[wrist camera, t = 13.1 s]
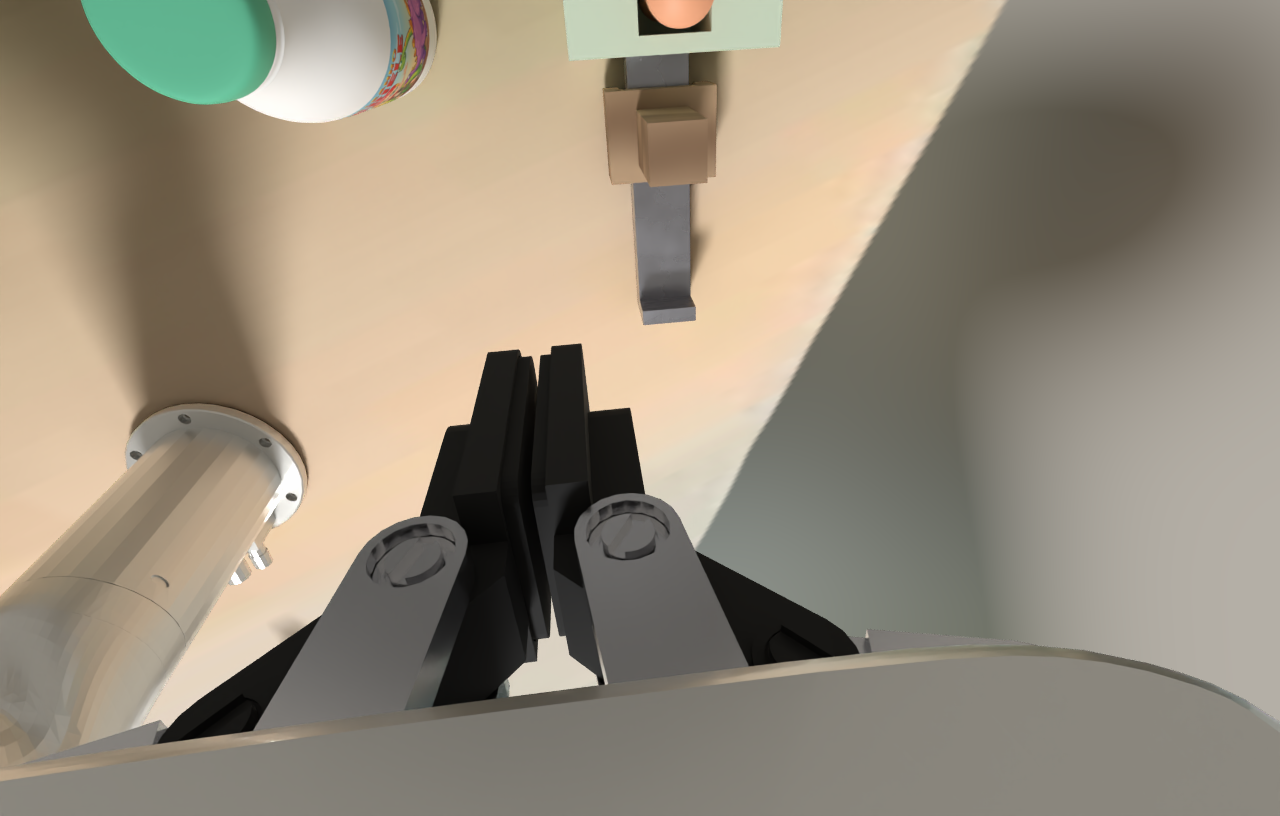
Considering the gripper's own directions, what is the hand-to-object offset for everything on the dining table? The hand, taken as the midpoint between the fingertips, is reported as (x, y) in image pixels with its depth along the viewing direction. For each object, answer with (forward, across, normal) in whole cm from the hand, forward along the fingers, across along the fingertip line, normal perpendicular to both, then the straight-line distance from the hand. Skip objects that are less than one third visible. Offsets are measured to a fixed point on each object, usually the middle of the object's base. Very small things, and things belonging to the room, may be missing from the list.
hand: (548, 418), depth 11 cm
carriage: (+32, -6, -1) cm, 32 cm away
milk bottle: (+32, +10, -7) cm, 34 cm away
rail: (+32, -6, +2) cm, 32 cm away
